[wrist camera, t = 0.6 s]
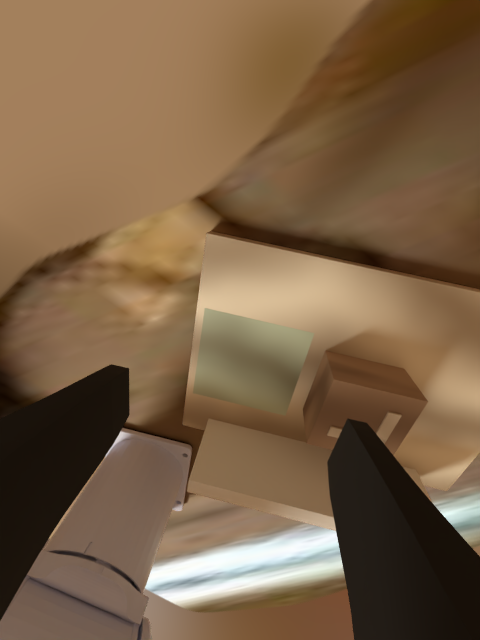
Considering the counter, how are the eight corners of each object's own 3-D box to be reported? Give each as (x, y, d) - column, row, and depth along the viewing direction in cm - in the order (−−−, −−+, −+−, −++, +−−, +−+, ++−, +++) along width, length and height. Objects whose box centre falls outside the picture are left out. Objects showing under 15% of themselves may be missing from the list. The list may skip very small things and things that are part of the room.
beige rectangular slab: (408, 479, 21) (444, 559, 16) (206, 429, 21) (186, 491, 17) (415, 469, 20) (455, 548, 15) (208, 418, 21) (188, 479, 16)
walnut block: (372, 425, 19) (388, 465, 16) (302, 408, 19) (306, 445, 16) (404, 368, 17) (429, 403, 14) (325, 350, 17) (334, 380, 14)
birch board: (439, 478, 21) (446, 491, 20) (186, 415, 22) (182, 425, 21) (576, 310, 15) (595, 317, 14) (210, 231, 16) (206, 233, 15)
